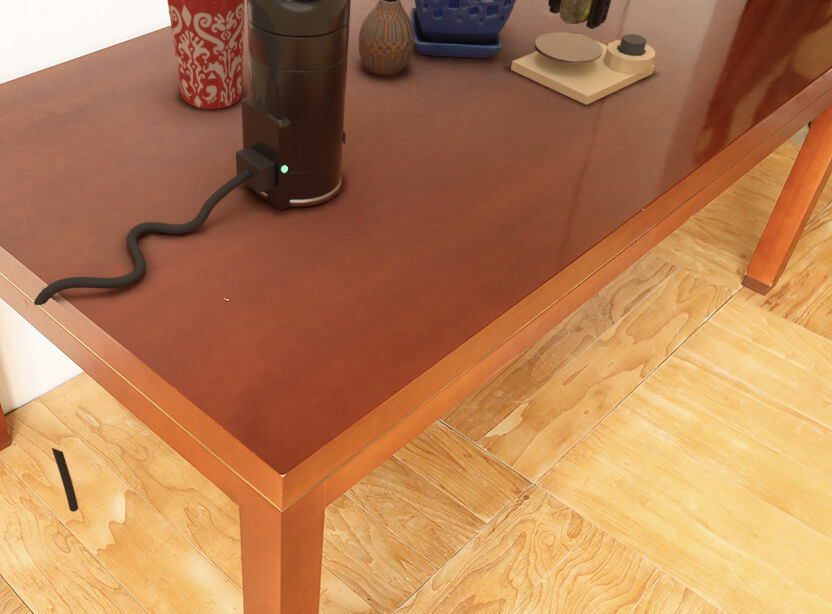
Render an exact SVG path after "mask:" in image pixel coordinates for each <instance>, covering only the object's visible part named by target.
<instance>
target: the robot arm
mask: <svg viewBox="0 0 832 614" xmlns="http://www.w3.org/2000/svg"><path fill="white" fill-rule="evenodd" d="M351 3H352V2H351V0H246V10H247V11H246V12H247V35H248V38H247V39H248V76H249V77H248V78H249V81H248V83H249V96H246V97H244V98H242V100H241V103H240V104H241V127H242V131H241V132H242V149H240V150H238V151H235V168H236V175H235V176H234V177H232V178H231V179H230V180H228V181H227V182H226V183H224V184H223V185H222V186H221V187H219V188H218V189H217V190H216V191H215V192H213V193H212V194H211V195H210V197H208V199H206V201H205V202H204V203H203V205H202V207H201V209H200V210H199V212H198V214H197V215H196V216H195V217H194V218H193V219H192V220H190V221H188V222H186V223H181V224H173V223H164V222H157V221H146V222H142V223H139V224H137V225H134V226H133V227H132V228H131V229H130V231H129V232H128V234H126V235H127V236H126V245H127V248H128V250H129V253H130V255H131V257H132V259H133V261H134V265H135V266H134V268H133V270H132V271H130V272H129V273H128V274H125V275H122V276H117V277H94V276H93V277H92V276H74V277H73V276H71V277H65V278H60V279H58V280H56V281H53V282H51V283H50V284H48V285H47V286H46V287H44V288H43V289H42V290H41V291H40V292H39V293H38V295H37V296H36V297H35V299H34V300H33V301H34V302H33V304H34V305H35V306H42V305H45V304H46V303H47V302H48V301H49V300H50V299H51V298H52V297H53V296H54V295H56V294H57V293H60V292H61V291H64V290H68V289H107V290H109V289H110V290H111V289H120V288H126V287H128V286H131V285H133V284H134V283H136V282H138V281H139V280H140V279H141V278H142V277H143V276H144V274H145V272H146V268H147V264H146V259H145V256H144V255H143V252H142V250H141V248H140V247H139V245H138V238H139V237H141V236H142V235H143V234H146V233H159V234H167V235H185V234H189V233H193V232H194V231H196V230H198V229H199V228H200V227H202V226H203V225H204V223H205V222H206V221H207V219H208V217H209V216H210V214H211V213H212V211H213V210H214V208H215V207H216V206H217V205H218V203H220V202H221V201H222V200H223V199H224V198H225V197H226V196H228V195H229V194H231V192H233V191H234V190H235V189H237V188H238V187H239V186H241V185H242V184H243V185H244V186H246V187H247V188H248V189H250V190H251V191H252V192H254V193H255V194H257V196H258V197H260V198H262V199H263V200H265V201H267V202H268V203H269V204H270V205H272V206H273V207H275V208H277V209H278V210H279V211H283V210H286V209H288V208H304V207H306V208H307V207H312V206H316V205H321V204H323V203H326V202H328V201H330V200H331V199H333V198H334V197H335V196H337V195H338V193H339V192H340V191H341V189H342V181H343V174H342V165H343V144H344V145H346V135H347V134H346V132H345V130H344V128H345V127H344V126H345V113H346V112H345V111H346V109H345V108H346V107H345V106H346V94H347V93H346V92H347V73H348V71H347V70H348V56H349V55H348V54H349V43H350V41H349V39H350V21H351ZM611 3H612V0H592V4H591V8H590V12H589V16H588V20H587V21H586V25H585V26H586V28H588V29H591V30H594V29H597V28H598V27H600V26H601V25H602V24H604V23H605V22H606V20H607V18H608V14H609V10H610V6H611ZM547 4H548V7H549V12H550V13H552V14H554V15H556V14H560V4H561V0H548V3H547ZM51 450H52V451H51V452H52V454H53V456H54V459H55V462H56V466H57V469H58V473H59V475H60V478H61V479H60V480H61V482H62V486H63V489H64V492H65V493H64V494H65V496H66V500H67V504H68V509H69V511H70V512H76V511H78V510H79V504H78V499H77V496H76V492H75V488H74V485H73V484H74V483H73V481H72V478H71V477H72V476H71V474H70V470H69V467H68V464H67V461H66V457H65V454H64V452H63V451H62V450H60V449H57V448H54V447H51Z"/></svg>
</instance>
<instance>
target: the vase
mask: <svg viewBox="0 0 832 614" xmlns="http://www.w3.org/2000/svg"><path fill="white" fill-rule="evenodd" d="M414 48H415V45H414V30H413V26H412V23H411V17H409V15H408V13H407V12H406V10H405V9H404V6H403V4H402V1H401V0H378V2H377V3H376V5H375V6H374V7H373V8H372V10H371V11H370V12H369V13H368V14H367V15H366V17H365V18H364V20H363V22H362V24H361V26H360V29H359V34H358V52H359V57H360V59H361V62H362V64H363V65H364V67H365V68H366V69H367V70H368V71H369V72H370V73H372V74H374V75H377V76H381V77H382V76H384V77H388V76H394V75H397V74H398V73H400V72H401V71H403V69H405V68H406V66H407V65H408V64H409V62H410V59H411V57H412V54H413V51H414Z"/></svg>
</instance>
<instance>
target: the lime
mask: <svg viewBox="0 0 832 614" xmlns="http://www.w3.org/2000/svg"><path fill="white" fill-rule="evenodd" d="M591 4H592V0H561V4H560V12H559V18H560V20H561V21H562V22H564V23H565V24H569V25H578V24H582V23H585V22H587V20H588V16H589V12H590V8H591Z"/></svg>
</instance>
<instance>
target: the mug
mask: <svg viewBox="0 0 832 614" xmlns="http://www.w3.org/2000/svg"><path fill="white" fill-rule="evenodd" d="M245 4H246V3H245V0H167V7H168V14H169V18H170V19H169V20H170V28H171V34H172V39H173V40H172V41H173V47H174V55H175V59H176V66H177V72H178V73H177V74H178V80H179V86H180V93H181V97H182V99H183V100H184V102H185V103H187V104H188V105H190V106H192V107H195V108H198V109H203V110H218V109H224V108H228V107H231V106H233V105H235V104H236V103H238V102H239V101H241V98H242V96H243V88H244V87H243V85H244V83H243V82H244V79H243V77H244V72H243V71H244V38H245V37H244V35H245V7H246V6H245Z"/></svg>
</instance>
